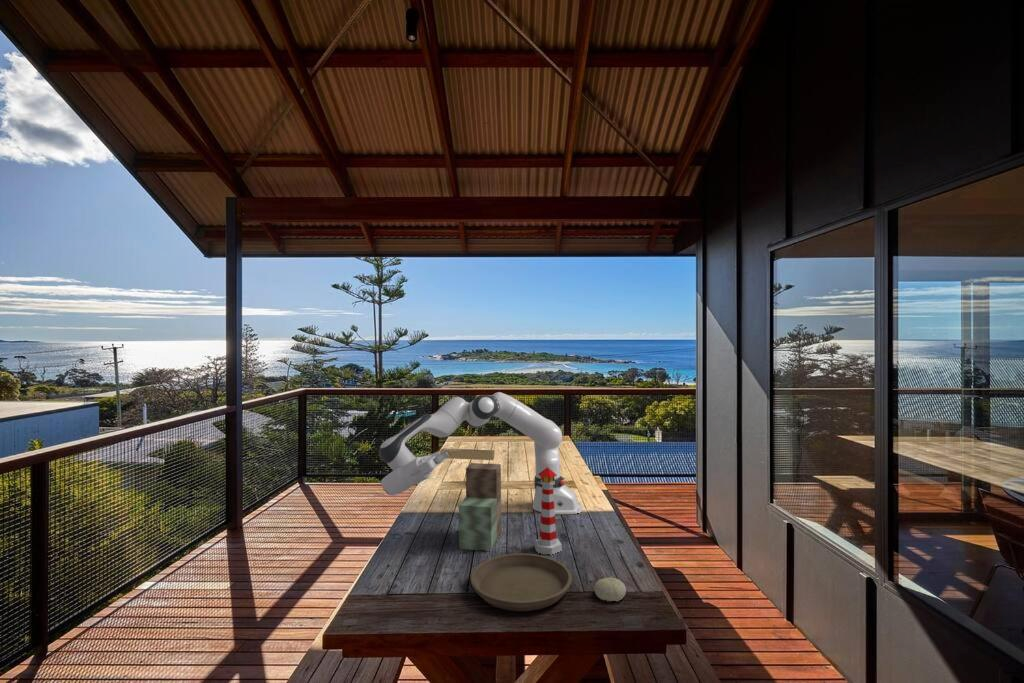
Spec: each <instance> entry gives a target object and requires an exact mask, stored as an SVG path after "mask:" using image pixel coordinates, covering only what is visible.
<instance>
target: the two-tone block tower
mask: <svg viewBox="0 0 1024 683" xmlns="http://www.w3.org/2000/svg"><path fill="white" fill-rule="evenodd" d="M501 464H502V463H501ZM501 464H499V463H478V462H474V463H473V462H471V463H470V464H469V465H468V466H466V468H465V497H464V499H463V500H462V501H461V502H460V503H459V505H458V541H459V542H458V549H459V550H467V549H468V551H481V550H492V551H493V549H492V548H494V547H495V545H496V543H497V541H498V539H499V537H500V536H499V535H501V534H502V470H501V468H502V465H501ZM500 533H501V534H500ZM494 544H495V545H494ZM493 546H494V547H493Z"/></svg>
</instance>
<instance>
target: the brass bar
mask: <svg viewBox="0 0 1024 683" xmlns="http://www.w3.org/2000/svg"><path fill="white" fill-rule="evenodd" d="M439 451H440V455H442V454H443V453H445V452H448V453H449V456H448V457H447V459H453V460H454V459H455V460H477V461H478V460H481V461H493V460H494V459H495V450H494V449H493V450H492V449H470V448H469V449H468V448H446V447H445V448H441V449H440V450H439Z"/></svg>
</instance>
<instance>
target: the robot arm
mask: <svg viewBox="0 0 1024 683" xmlns="http://www.w3.org/2000/svg"><path fill="white" fill-rule="evenodd" d="M492 417H494V418H498V419H501V420H502V421H503V422H505V423H507V424H508V425H509V426H511V427H513V428H515V429H516V430H517V431H519V432H521V433H522V434H523V435H525V436H526V437H528V438H529V439H530V440H532V441H533V444H534V447H533V448H534V456H535V474H534V475H535V476H534V478H533V479H534V480H533V482H534V483H533V484H534V485H533V486H534V497H533V501H532V505H531V506H532V507H531V508H532V510H534V511H536V512H540V513H541V502H542V484H541V477H540V476H539V473H540V472H542V471H543V470H544V469H546V468H547V467H548V468H549V469H550V470H552V471H553V472H554V473H555V474H556V475H557V476H554V481H555V484H554V485H553V494H554V509H555V515H578V514H577V513H579V514H580V513H581V512H582V511H583V505H582V503H581V502H579V501H578V498H577V494H576V493H575V491H573V490H572V489H570V487H568V486H567V485H566V484H565V483H566V481H565V476H561V458H560V457H561V456H560V450H559V446H560V445H561V443H562V442H563V441H562V440H563V432H562V429H561V428H560V427H559V426H558V425H557V424H556V423H555V422H554V421H553V420H551V419H548V418H546V417H544V416H543V415H541V414H539V413H538V412H537V411H535V410H534V409H532V408H530V407H529V406H527V405H526V404H524V403H522V402H521V401H519V400H518V399H517V398H514V397H513V396H511V395H509V394H506V393H503V392H500V391H498V392H495V393H493V394H492V395H487V394H482V395H478V396H476V397H475V398H474V399H473V400H472V401H471V402H468V401H466V400H465V399H464V398H462V397H460V396H454V397H452V398H451V399H449V400H447V401H446V402H445V403H444V404H443V405H442V406H441V407H440V408H439V409H438V410H437V411H436V412H434V413H432V414H429V413H424V414H423V415H421V416H419V417H418V418H416V419H414V420H413V421H412V422H411V423H409V424H408V425H406V426H405V427H404V428H402V429H401V430H400V431H398V432H397V433H396V434H394V435H392V436H391V437H389V438H388V439H386V440H384V441H383V442H382V443H381V444H380V446H379V450H378V455H379V458H380V459H381V460H382V461H383V462H384V463H386V464H387V466H388V467H389V468H390V469H391V470H392V471H391V472H389V473H388V474H387V475H385V476H384V477H382V479H381V480H380V482H381V483H380V484H381V487H382V488H383V490H384V492H385V493H387V494H388V496H391V497H393V496H396V495H399V494H401V493H403V492H406V491H408V490H409V489H411V488H412V487H413V486H414V485H418V484H420V483H421V482H424V481H425V480H427V479H429V478H430V477H431V474H432V473H433V471H434V470H435V469H436V467H438V466H439V465H440V464H441V463H442V462H444V461H446V460H447V459H448V458H447V457H448V456H449V453H448V452H445V453H443V454H442V455H440V450H438V451H436V452H434V453H431V454H429V455H427V454H426V455H423V456H417V457H416V456H415V455H414V454H413V453H412V452H411V451H410V450H409V448H408V447H407V446H406V442H407V441H409V440H410V439H411V438H412V437H414V436H415V435H416V434H418V433H419V432H420V431H424V432H427V433H428V434H431V435H432V436H434V437H438V438H446V437H450V435H452V434H453V433H454V432H455V431H457V429H458V428H459V426H460V425H461V424H462V423H463V424H465V425H467V426H468V427H471V428H473V429H476V428H477V429H478V428H481V427H483V426H484V425H486V424H487V423H488V422H490V419H491V418H492Z"/></svg>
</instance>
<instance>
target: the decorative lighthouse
mask: <svg viewBox="0 0 1024 683" xmlns="http://www.w3.org/2000/svg"><path fill="white" fill-rule="evenodd" d="M539 476H540V477H541V484H542V502H541V512H540V521H539V522H540V523H539V539H535V540H534V541H533V543H534V547H535V548H534V549H535V551H536V552H538V553H537V554H539V553H541V555H546V554H550V555H549V556H553V555H552V554H554V555H556V554H558V553H557V552H559V553H560V551H561V552H563V548H562V546H563V544H562V543H561V541H560V539H559V538H557V528H556V526H557V525H556V524H557V523H556V514H555V509H554V494H553V485H554V484H555V481H554V476H557V475H556V474H555V473H554V472H553V471H552V470H550V469H549V468H548V467H547V468H546V469H544V470H543V471H542V472H540V473H539ZM555 553H556V554H555Z"/></svg>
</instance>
